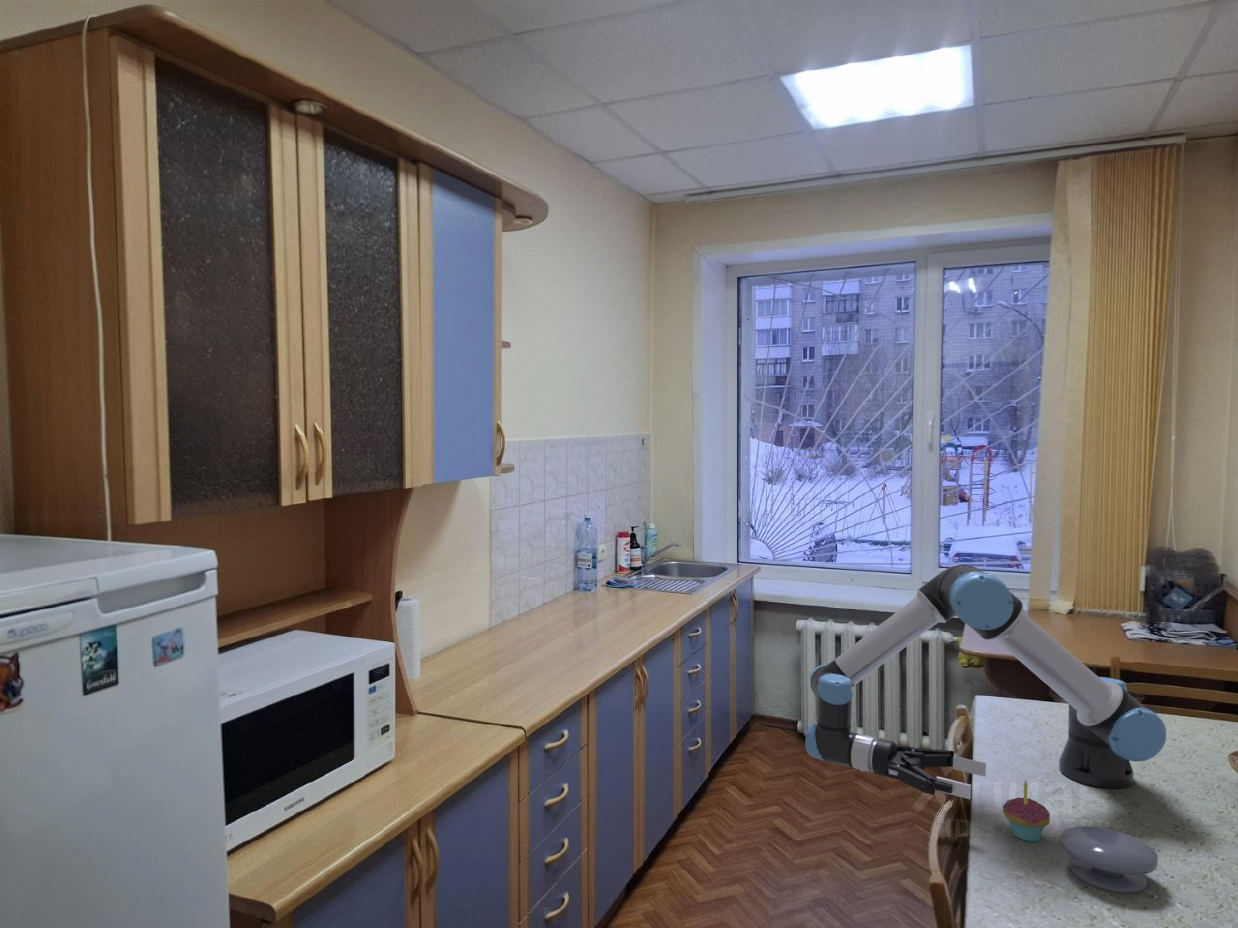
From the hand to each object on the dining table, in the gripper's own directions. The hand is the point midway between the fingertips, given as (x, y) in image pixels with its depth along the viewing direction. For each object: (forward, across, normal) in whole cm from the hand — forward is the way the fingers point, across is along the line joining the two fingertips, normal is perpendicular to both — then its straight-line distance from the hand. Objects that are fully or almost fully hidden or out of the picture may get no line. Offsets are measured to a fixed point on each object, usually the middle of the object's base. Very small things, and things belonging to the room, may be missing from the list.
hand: (978, 780), depth 168 cm
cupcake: (+9, 0, -9) cm, 13 cm away
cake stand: (+24, +7, -9) cm, 26 cm away
